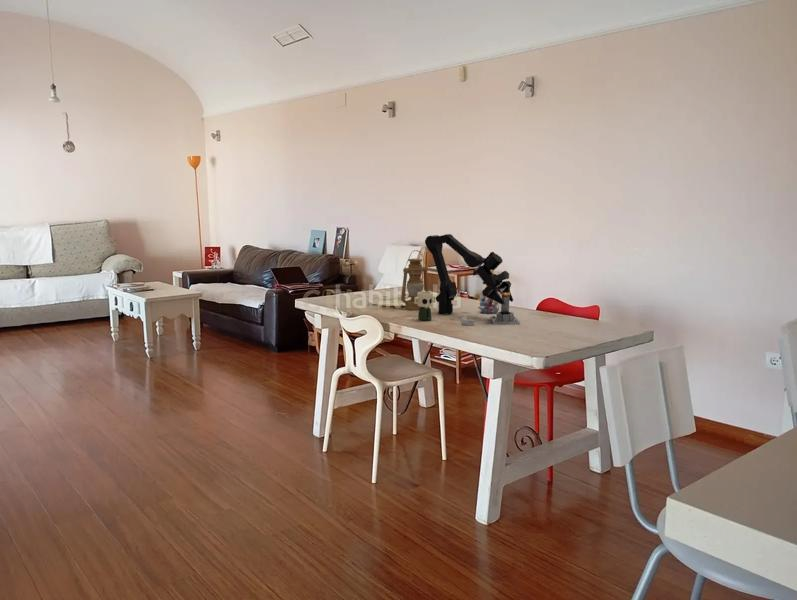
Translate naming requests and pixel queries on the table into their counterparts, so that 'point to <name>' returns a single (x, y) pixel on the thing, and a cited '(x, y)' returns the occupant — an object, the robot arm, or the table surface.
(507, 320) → the silver bolted socket base
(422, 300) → the big-eyed figurine
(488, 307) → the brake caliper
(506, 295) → the copper-capped metal post
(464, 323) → the loose bracket
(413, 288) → the lantern
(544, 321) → the table surface
